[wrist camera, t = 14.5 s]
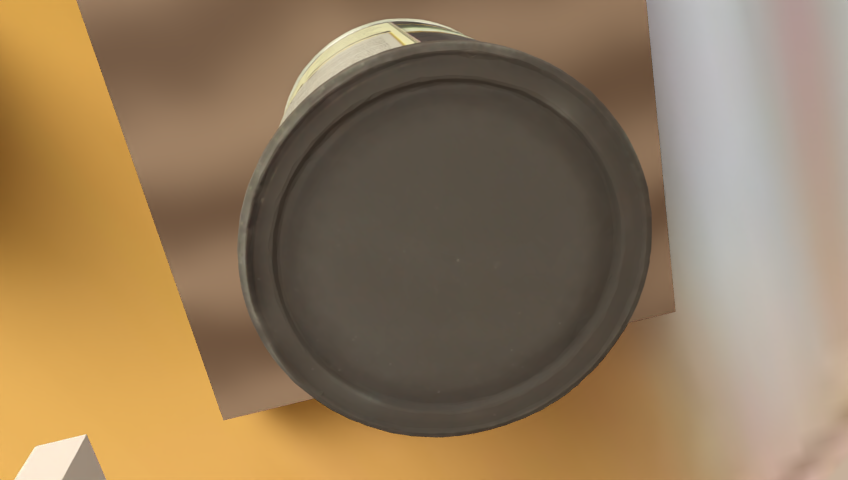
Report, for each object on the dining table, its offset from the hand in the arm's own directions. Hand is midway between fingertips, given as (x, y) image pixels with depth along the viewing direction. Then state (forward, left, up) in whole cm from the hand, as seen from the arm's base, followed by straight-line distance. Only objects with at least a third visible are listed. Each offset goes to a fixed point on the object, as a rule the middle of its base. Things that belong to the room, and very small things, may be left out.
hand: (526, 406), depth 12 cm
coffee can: (0, 0, -21) cm, 21 cm away
